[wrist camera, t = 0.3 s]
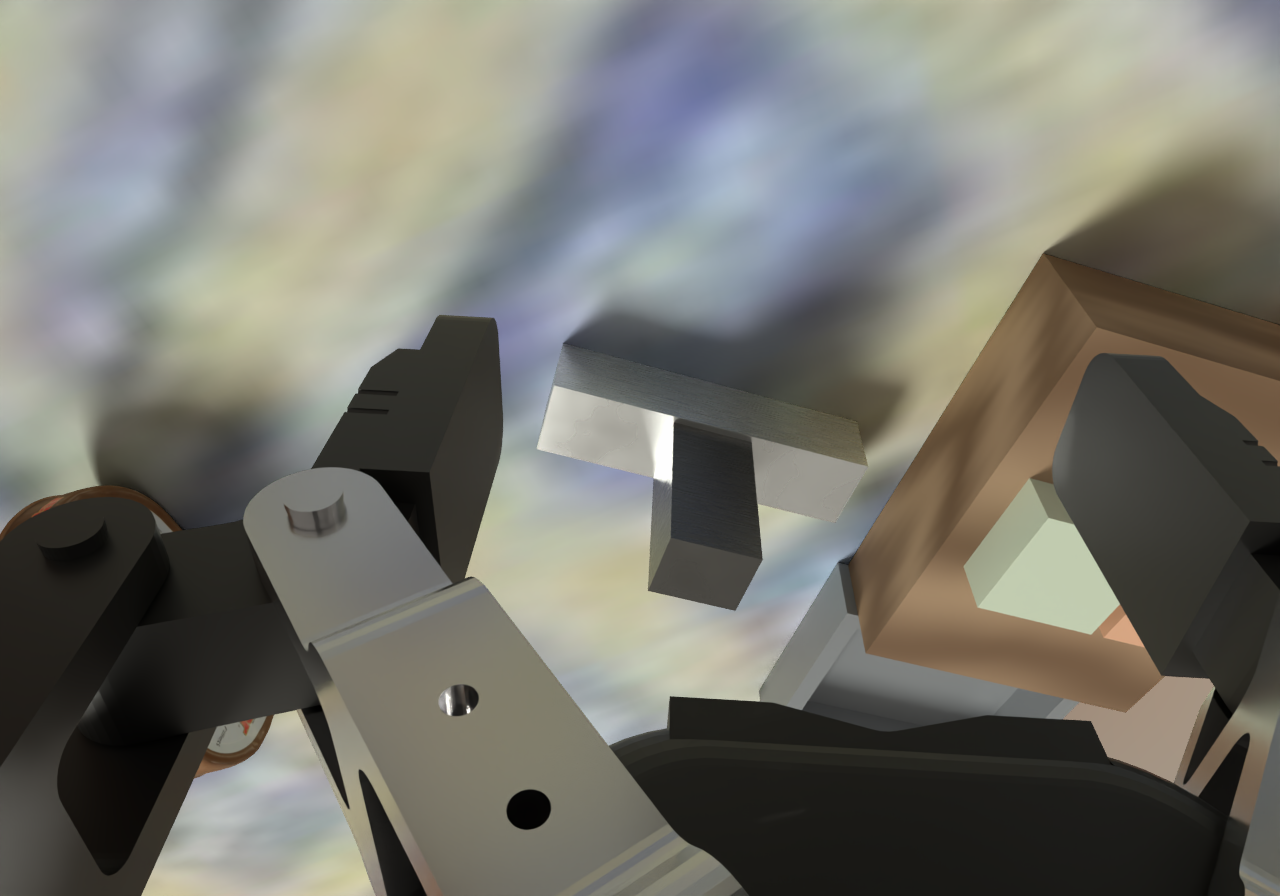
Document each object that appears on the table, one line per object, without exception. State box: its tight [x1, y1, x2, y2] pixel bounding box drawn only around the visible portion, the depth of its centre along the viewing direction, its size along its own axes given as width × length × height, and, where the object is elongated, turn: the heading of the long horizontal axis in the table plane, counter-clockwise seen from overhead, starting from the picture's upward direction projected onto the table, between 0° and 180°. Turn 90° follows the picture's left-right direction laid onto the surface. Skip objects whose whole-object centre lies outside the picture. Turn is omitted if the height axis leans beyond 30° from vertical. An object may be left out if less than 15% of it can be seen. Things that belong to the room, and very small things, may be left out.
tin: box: [0, 485, 274, 778], centre depth 38 cm, size 15×3×8 cm, turn 19°
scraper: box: [537, 343, 868, 610], centre depth 31 cm, size 3×12×9 cm, turn 74°
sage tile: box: [964, 478, 1120, 635], centre depth 30 cm, size 4×4×2 cm
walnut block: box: [848, 253, 1280, 712], centre depth 33 cm, size 16×12×5 cm
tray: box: [759, 563, 1079, 732], centre depth 42 cm, size 10×12×3 cm
